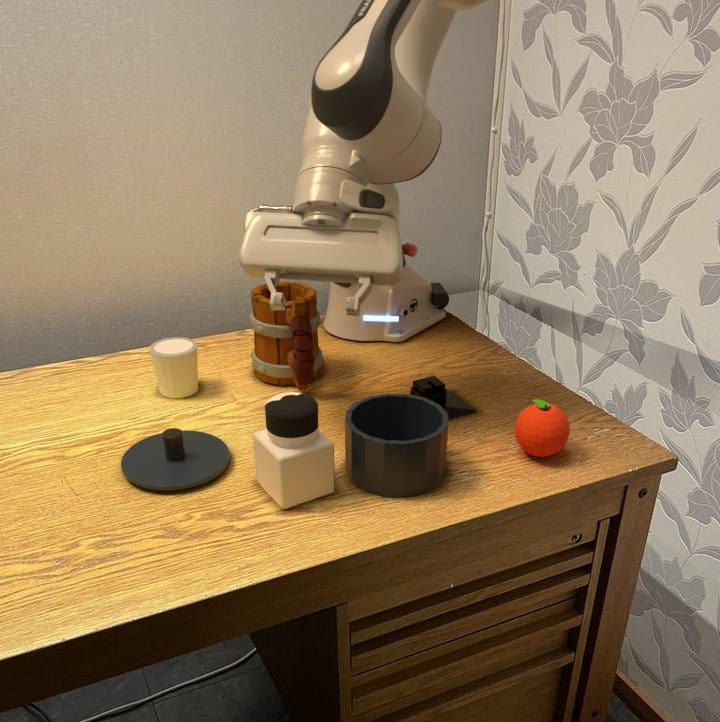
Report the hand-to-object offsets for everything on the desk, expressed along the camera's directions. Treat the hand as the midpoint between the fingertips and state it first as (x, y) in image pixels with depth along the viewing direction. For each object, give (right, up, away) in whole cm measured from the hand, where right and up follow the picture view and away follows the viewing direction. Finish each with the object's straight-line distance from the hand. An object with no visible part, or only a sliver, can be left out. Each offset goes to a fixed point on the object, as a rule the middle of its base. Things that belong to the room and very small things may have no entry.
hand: (314, 311), depth 97 cm
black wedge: (+15, -11, +16) cm, 25 cm away
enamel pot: (+10, -19, +3) cm, 22 cm away
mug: (-5, -5, +25) cm, 26 cm away
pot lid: (-18, -18, +4) cm, 26 cm away
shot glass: (-21, -7, +21) cm, 31 cm away
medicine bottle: (-2, -22, 0) cm, 22 cm away
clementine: (+29, -17, +7) cm, 34 cm away
